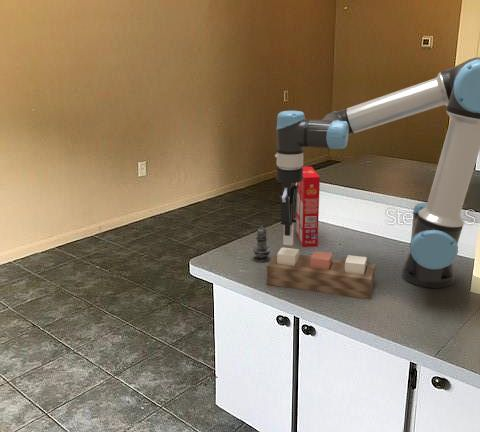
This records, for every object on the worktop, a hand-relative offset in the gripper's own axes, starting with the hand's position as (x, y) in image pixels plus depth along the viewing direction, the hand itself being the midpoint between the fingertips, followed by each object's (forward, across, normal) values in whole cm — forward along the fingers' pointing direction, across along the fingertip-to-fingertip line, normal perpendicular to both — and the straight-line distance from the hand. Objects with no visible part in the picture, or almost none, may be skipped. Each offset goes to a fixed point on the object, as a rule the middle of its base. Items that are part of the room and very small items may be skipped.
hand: (288, 244), depth 159 cm
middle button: (+7, 0, +10) cm, 12 cm away
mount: (+11, 0, +10) cm, 15 cm away
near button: (+7, 0, +20) cm, 21 cm away
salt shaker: (+12, -12, -12) cm, 21 cm away
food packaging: (+12, -34, -2) cm, 36 cm away
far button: (+7, 0, 0) cm, 7 cm away
